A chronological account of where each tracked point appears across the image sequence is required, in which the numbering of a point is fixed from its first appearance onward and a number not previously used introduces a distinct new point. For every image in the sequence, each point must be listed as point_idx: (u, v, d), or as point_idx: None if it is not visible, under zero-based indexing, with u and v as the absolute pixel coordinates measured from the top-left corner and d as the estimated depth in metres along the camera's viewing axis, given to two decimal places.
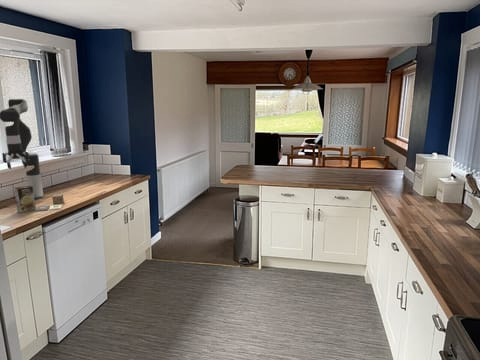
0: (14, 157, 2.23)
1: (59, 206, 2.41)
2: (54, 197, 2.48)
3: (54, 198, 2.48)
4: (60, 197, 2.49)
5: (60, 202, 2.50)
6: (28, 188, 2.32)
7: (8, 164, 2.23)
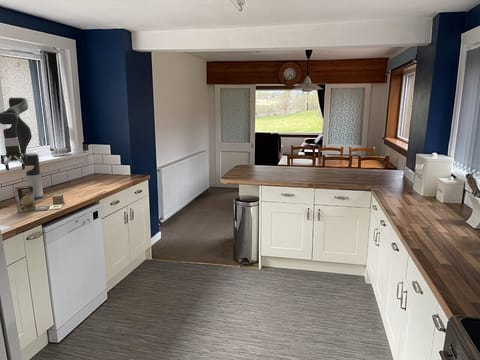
0: (12, 159, 2.26)
1: (59, 206, 2.41)
2: (54, 197, 2.48)
3: (54, 198, 2.48)
4: (60, 197, 2.49)
5: (60, 202, 2.50)
6: (28, 188, 2.32)
7: (6, 166, 2.26)
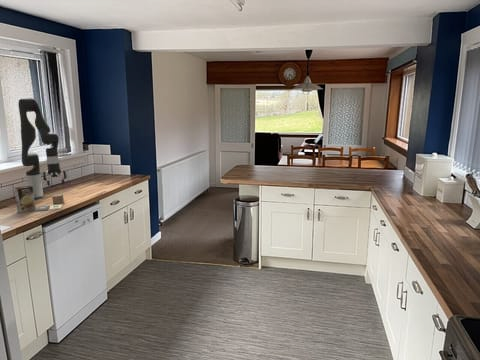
0: (53, 175, 2.47)
1: (59, 206, 2.41)
2: (54, 197, 2.48)
3: (54, 198, 2.48)
4: (60, 197, 2.49)
5: (60, 202, 2.50)
6: (28, 188, 2.32)
7: (48, 182, 2.46)
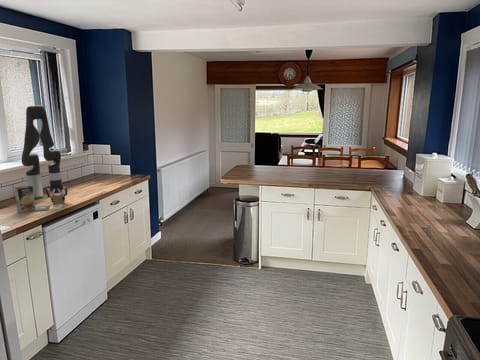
0: (56, 191, 2.49)
1: (59, 206, 2.41)
2: (54, 197, 2.48)
3: (54, 198, 2.48)
4: (60, 197, 2.49)
5: (60, 202, 2.49)
6: (28, 188, 2.32)
7: None
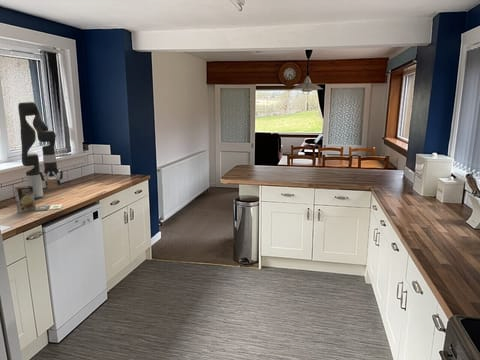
0: (50, 174, 2.35)
1: (59, 206, 2.41)
2: (49, 180, 2.34)
3: (49, 181, 2.34)
4: (55, 180, 2.35)
5: (55, 186, 2.36)
6: (28, 188, 2.32)
7: (46, 182, 2.35)
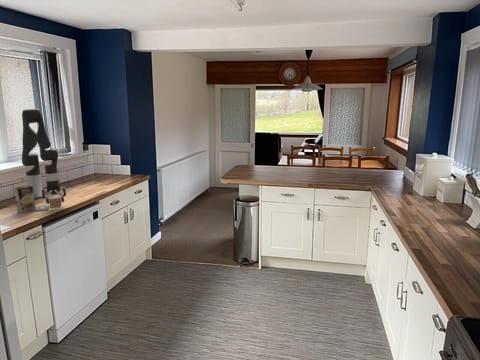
0: (52, 193, 2.38)
1: None
2: (51, 200, 2.36)
3: (51, 201, 2.36)
4: (57, 200, 2.38)
5: (57, 205, 2.38)
6: (28, 188, 2.32)
7: (47, 199, 2.37)
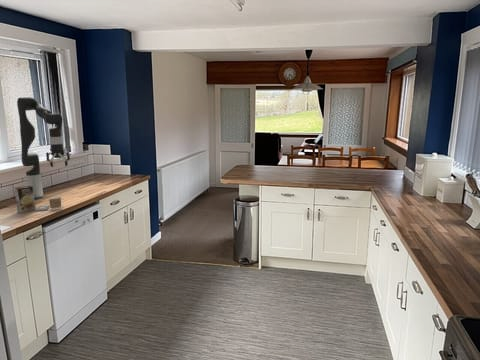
0: (56, 156, 2.43)
1: None
2: (51, 200, 2.36)
3: (51, 201, 2.36)
4: (57, 200, 2.38)
5: (57, 205, 2.38)
6: (28, 188, 2.32)
7: (51, 163, 2.43)
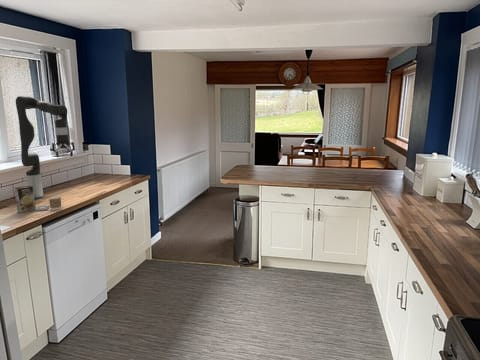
0: (62, 147, 2.50)
1: None
2: (51, 200, 2.36)
3: (51, 201, 2.36)
4: (57, 200, 2.38)
5: (57, 205, 2.38)
6: (28, 188, 2.32)
7: (57, 153, 2.49)
